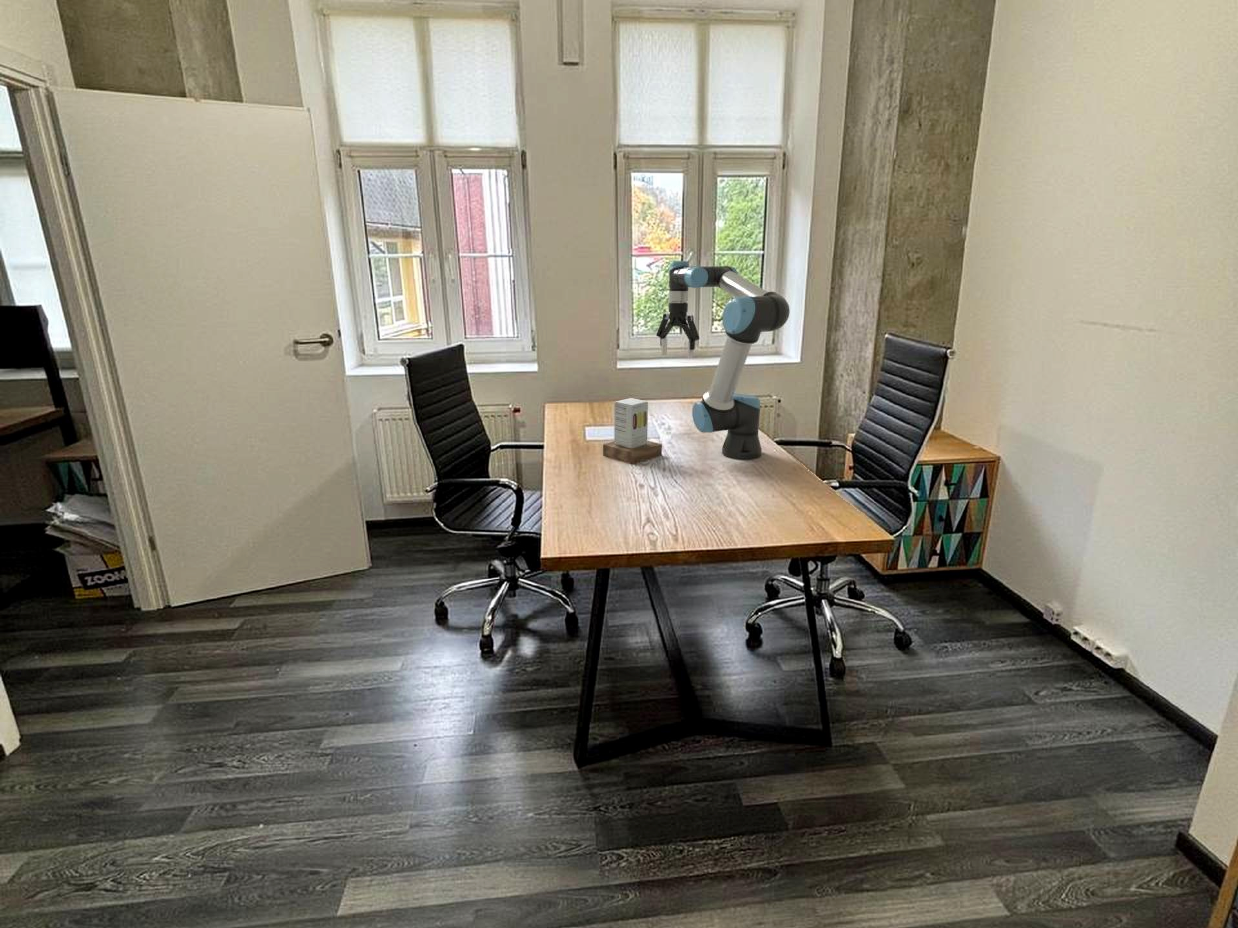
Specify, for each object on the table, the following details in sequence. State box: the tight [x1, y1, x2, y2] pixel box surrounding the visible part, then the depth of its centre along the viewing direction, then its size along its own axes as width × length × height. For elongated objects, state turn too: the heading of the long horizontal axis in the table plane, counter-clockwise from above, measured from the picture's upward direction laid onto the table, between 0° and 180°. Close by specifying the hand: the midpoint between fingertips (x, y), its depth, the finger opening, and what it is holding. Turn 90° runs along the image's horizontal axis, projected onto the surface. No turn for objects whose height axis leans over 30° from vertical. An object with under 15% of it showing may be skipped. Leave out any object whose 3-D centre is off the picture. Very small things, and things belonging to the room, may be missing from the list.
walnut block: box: [602, 440, 663, 465], centre depth 248 cm, size 16×16×5 cm
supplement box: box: [613, 397, 649, 449], centre depth 244 cm, size 10×9×17 cm
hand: (676, 356), depth 259 cm, fingers open, 13 cm apart
